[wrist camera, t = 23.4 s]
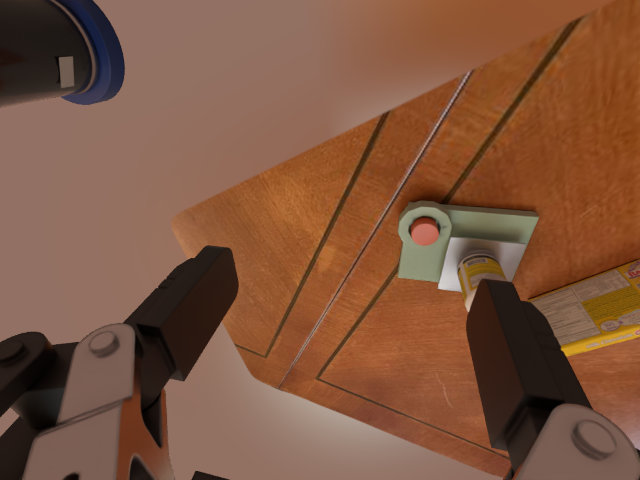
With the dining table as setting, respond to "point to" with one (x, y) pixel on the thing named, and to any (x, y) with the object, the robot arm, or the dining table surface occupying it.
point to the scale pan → (465, 246)
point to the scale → (456, 233)
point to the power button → (424, 231)
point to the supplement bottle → (477, 274)
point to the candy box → (594, 310)
